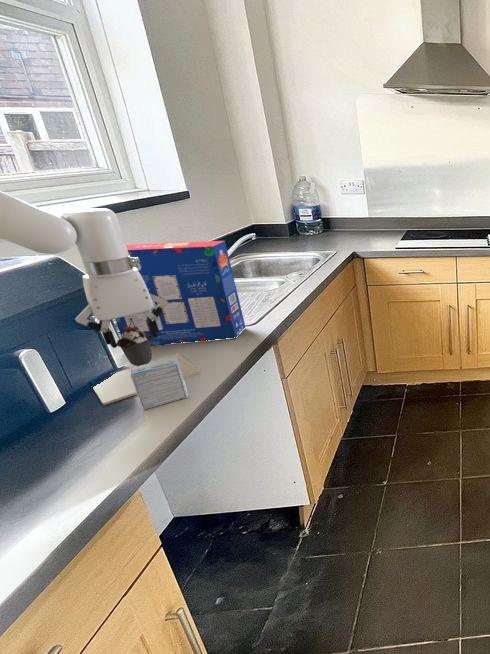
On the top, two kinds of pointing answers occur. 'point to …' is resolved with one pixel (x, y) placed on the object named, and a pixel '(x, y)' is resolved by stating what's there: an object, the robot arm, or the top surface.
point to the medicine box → (159, 383)
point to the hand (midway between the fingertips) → (134, 340)
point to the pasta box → (188, 292)
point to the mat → (124, 387)
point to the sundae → (136, 345)
